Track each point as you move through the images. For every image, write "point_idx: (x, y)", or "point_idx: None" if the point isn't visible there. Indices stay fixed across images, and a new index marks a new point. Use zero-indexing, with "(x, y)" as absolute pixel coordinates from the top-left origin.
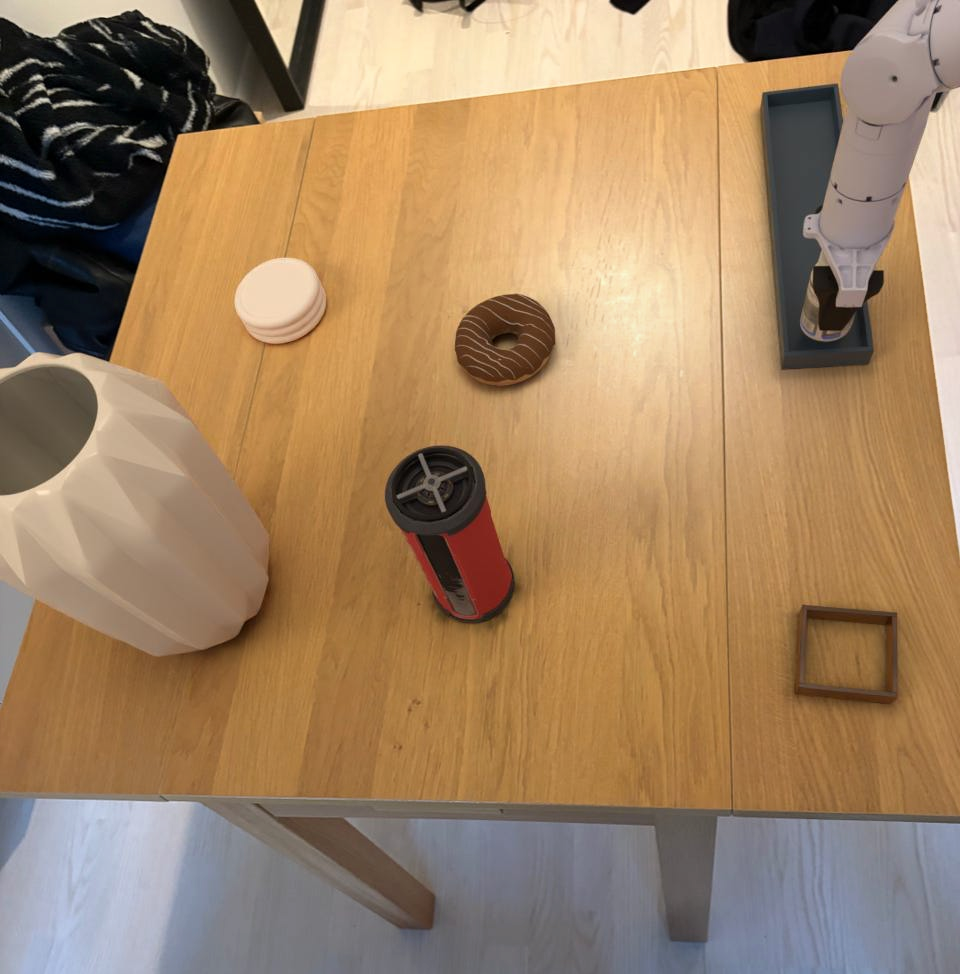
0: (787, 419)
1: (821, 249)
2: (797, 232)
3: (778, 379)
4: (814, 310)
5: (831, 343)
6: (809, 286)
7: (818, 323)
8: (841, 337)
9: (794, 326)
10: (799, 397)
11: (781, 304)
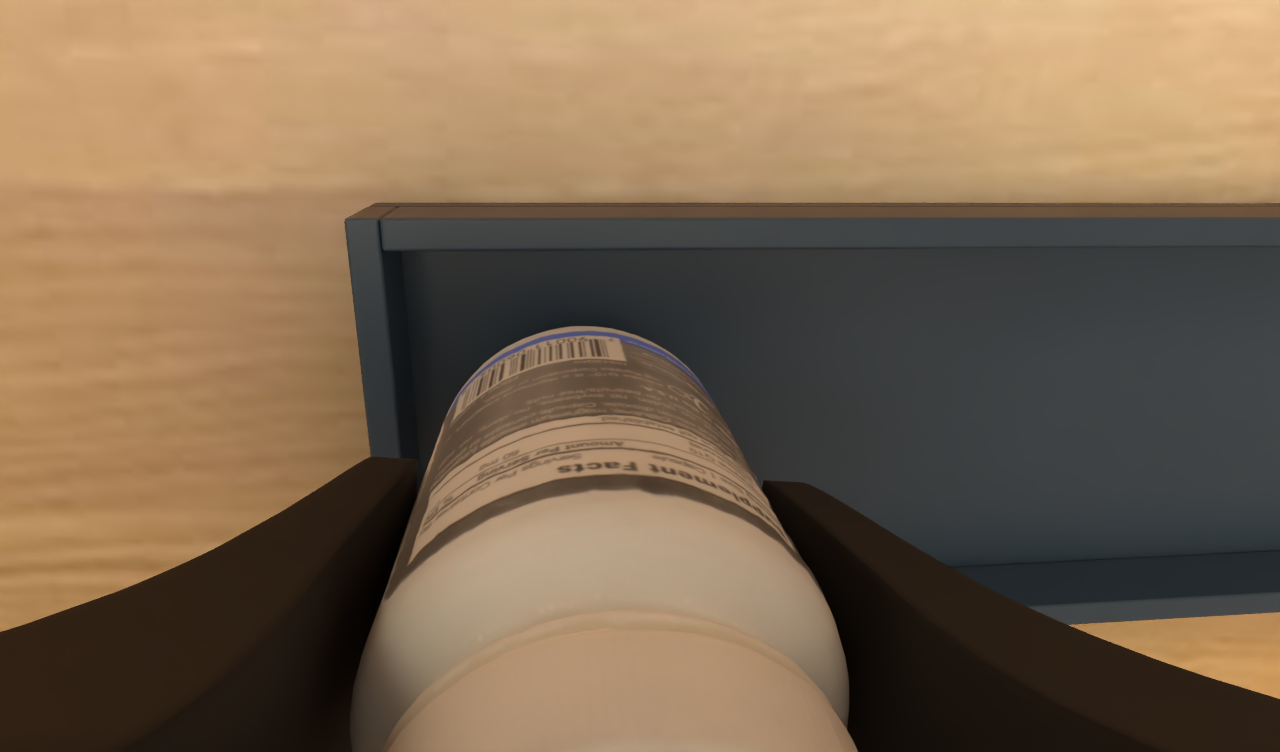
0: (9, 215)
1: (923, 619)
2: (1269, 340)
3: (304, 183)
4: (458, 452)
5: None
6: (583, 457)
7: (349, 469)
8: None
9: (652, 290)
10: (182, 288)
11: (760, 225)
